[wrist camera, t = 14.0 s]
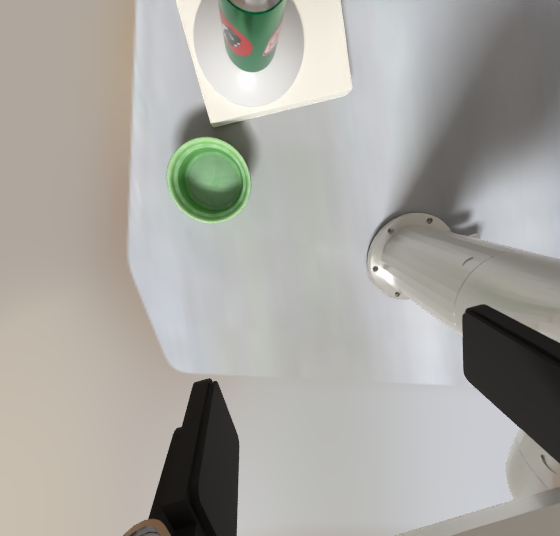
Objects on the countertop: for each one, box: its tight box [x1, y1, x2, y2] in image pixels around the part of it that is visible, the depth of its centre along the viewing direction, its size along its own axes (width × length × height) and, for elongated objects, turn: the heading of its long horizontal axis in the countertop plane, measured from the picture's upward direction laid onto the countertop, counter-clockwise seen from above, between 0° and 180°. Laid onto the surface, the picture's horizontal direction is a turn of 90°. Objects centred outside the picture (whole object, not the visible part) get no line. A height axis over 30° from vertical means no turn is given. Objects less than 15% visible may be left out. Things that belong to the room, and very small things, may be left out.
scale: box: [176, 0, 352, 128], centre depth 29 cm, size 16×13×4 cm
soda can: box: [218, 0, 287, 72], centre depth 22 cm, size 5×5×12 cm
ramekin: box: [167, 137, 251, 223], centre depth 32 cm, size 9×9×4 cm
